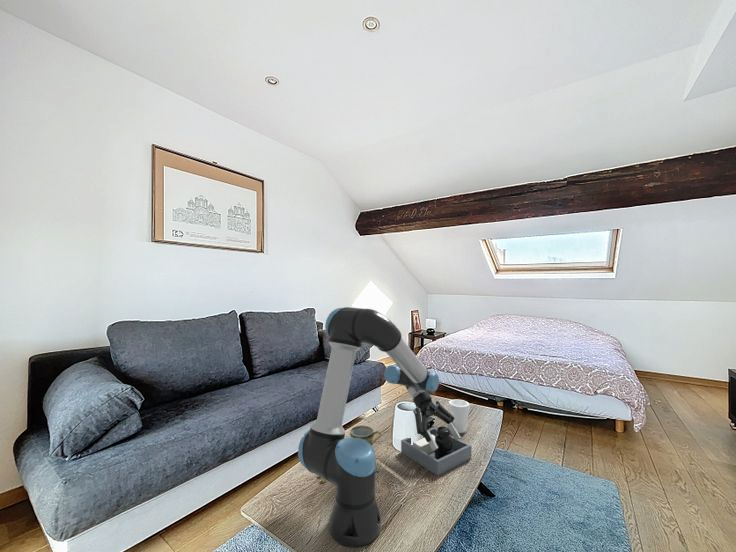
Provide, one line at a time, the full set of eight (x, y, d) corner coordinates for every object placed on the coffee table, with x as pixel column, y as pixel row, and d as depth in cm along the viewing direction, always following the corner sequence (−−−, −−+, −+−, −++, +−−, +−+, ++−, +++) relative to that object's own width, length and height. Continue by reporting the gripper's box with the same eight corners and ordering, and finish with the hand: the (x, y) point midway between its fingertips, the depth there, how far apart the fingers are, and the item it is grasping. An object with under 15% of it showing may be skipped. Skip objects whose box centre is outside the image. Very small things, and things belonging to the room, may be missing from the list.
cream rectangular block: (420, 457, 128) (420, 447, 128) (412, 451, 132) (412, 442, 132) (440, 448, 135) (440, 438, 135) (432, 443, 139) (432, 434, 139)
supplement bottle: (452, 465, 122) (452, 433, 122) (434, 463, 123) (434, 432, 124) (451, 455, 129) (451, 426, 129) (434, 453, 130) (434, 424, 131)
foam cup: (447, 425, 159) (447, 399, 159) (466, 425, 158) (466, 399, 159) (451, 434, 149) (451, 406, 150) (471, 434, 149) (471, 406, 149)
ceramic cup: (349, 461, 126) (349, 436, 127) (350, 448, 136) (350, 425, 137) (381, 460, 127) (381, 435, 127) (379, 448, 137) (379, 424, 137)
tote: (437, 478, 115) (437, 462, 115) (401, 454, 131) (401, 440, 132) (471, 460, 127) (471, 445, 127) (434, 440, 143) (433, 427, 143)
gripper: (434, 393, 147) (461, 439, 134) (394, 405, 132) (420, 458, 119) (443, 385, 142) (472, 431, 130) (402, 396, 128) (430, 450, 115)
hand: (447, 444), depth 125 cm, fingers open, 13 cm apart
